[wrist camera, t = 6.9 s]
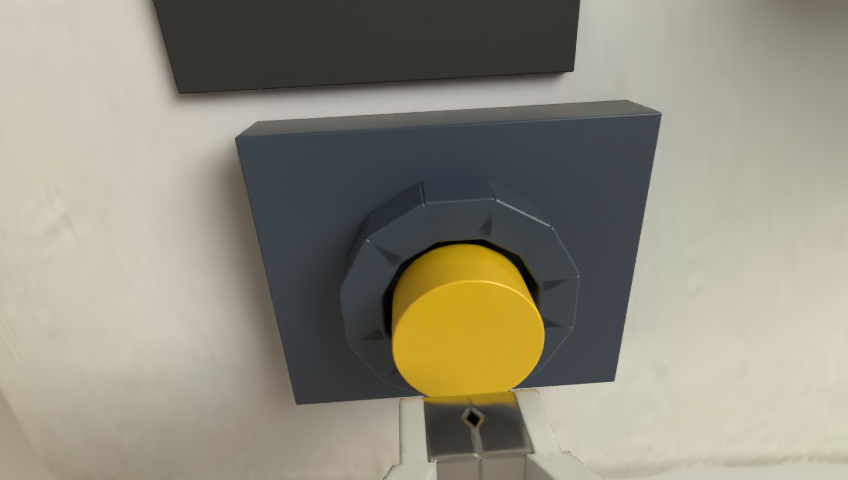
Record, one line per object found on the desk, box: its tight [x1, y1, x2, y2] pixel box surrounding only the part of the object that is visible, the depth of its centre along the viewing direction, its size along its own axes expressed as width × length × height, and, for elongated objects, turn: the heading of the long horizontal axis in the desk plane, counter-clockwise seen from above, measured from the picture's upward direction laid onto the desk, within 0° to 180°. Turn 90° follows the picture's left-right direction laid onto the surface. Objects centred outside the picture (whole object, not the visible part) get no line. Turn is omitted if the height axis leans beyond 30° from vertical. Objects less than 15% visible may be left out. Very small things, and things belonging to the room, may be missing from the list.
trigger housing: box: [235, 100, 662, 405], centre depth 15 cm, size 12×10×4 cm
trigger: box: [392, 244, 544, 397], centre depth 13 cm, size 4×4×2 cm
